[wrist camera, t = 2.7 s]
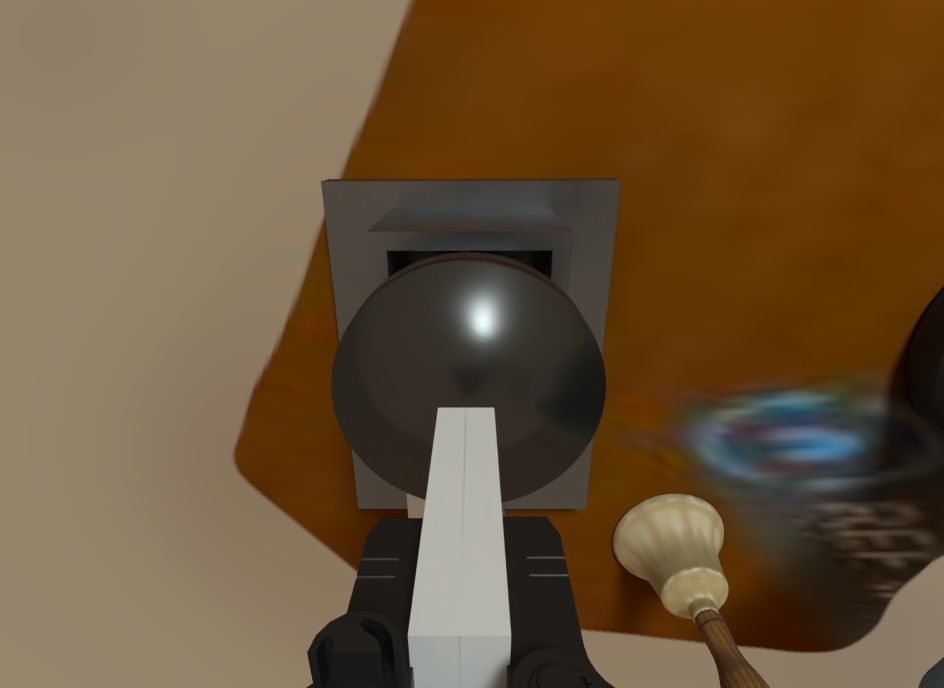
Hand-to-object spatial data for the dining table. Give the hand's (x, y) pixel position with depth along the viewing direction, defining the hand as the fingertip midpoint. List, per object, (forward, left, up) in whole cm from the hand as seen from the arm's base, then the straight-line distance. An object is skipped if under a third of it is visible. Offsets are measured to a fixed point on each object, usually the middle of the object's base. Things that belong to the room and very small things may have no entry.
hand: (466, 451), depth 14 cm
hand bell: (-25, +4, -18) cm, 31 cm away
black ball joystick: (-3, +3, -12) cm, 13 cm away
